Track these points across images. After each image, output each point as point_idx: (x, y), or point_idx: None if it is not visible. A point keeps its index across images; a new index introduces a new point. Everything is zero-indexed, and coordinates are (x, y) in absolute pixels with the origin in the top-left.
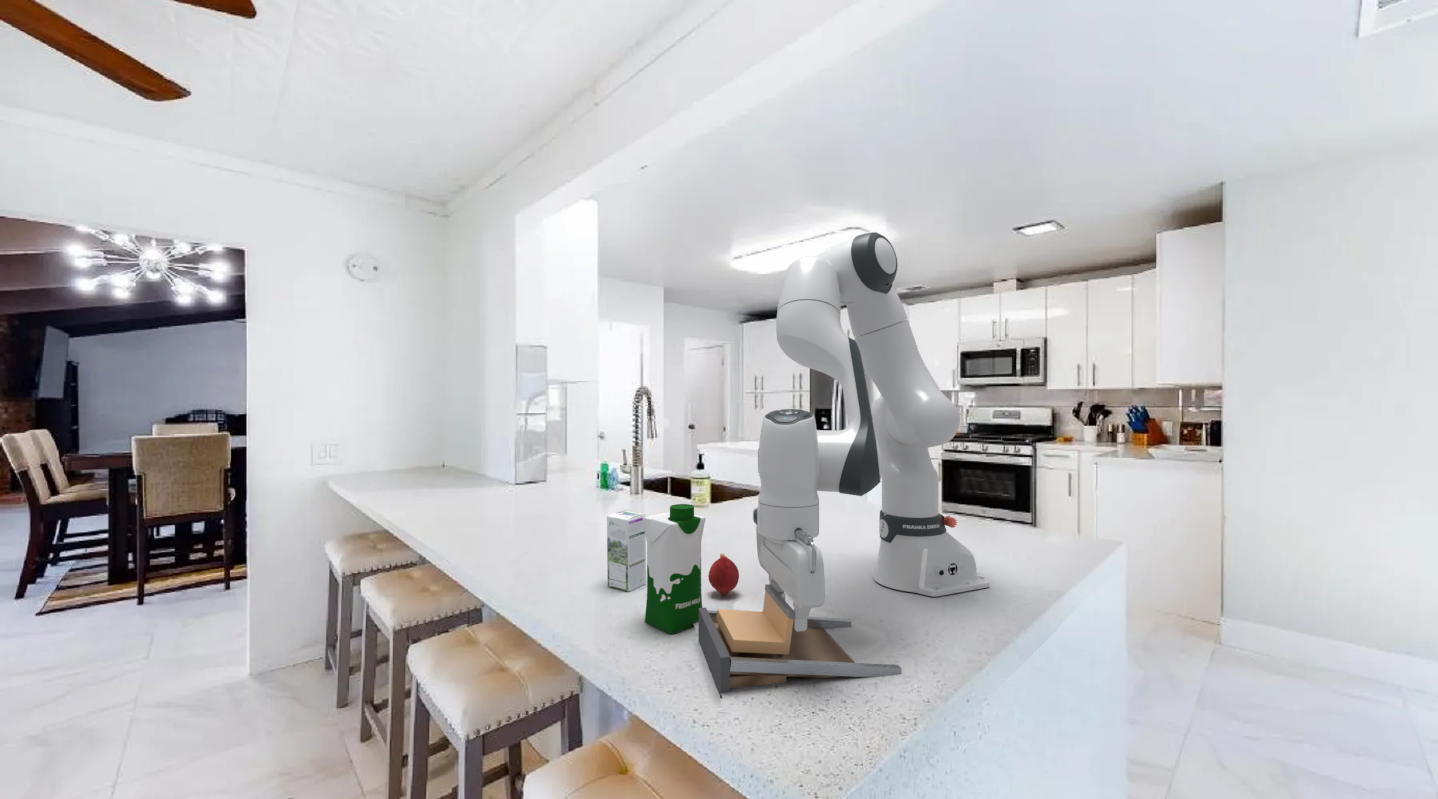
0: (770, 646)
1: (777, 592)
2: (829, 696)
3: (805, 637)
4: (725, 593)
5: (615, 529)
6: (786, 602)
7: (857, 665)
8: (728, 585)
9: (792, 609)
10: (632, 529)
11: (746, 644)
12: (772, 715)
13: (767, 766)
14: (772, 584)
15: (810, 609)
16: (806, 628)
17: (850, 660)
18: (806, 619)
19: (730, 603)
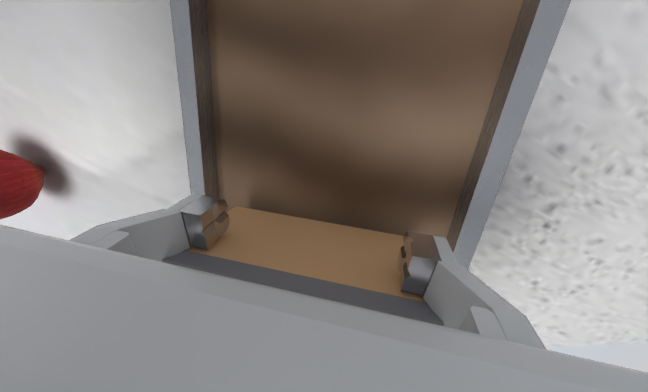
0: None
1: (232, 276)
2: (518, 169)
3: (275, 110)
4: (41, 172)
5: None
6: (339, 299)
7: (540, 64)
8: (23, 181)
9: (417, 317)
10: None
11: None
12: (504, 281)
13: (615, 337)
14: (155, 259)
15: (515, 308)
16: (446, 239)
17: (421, 31)
18: (455, 262)
19: (79, 172)
